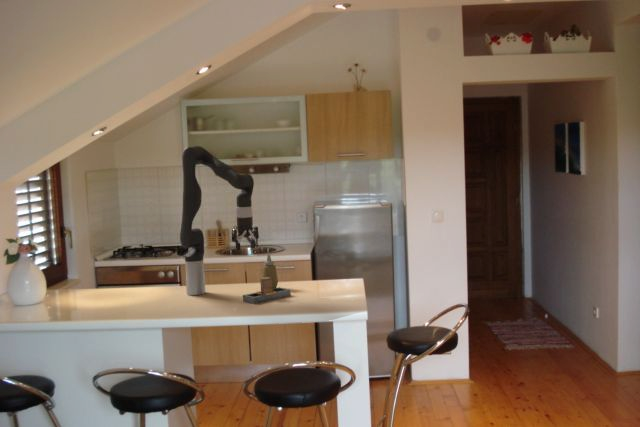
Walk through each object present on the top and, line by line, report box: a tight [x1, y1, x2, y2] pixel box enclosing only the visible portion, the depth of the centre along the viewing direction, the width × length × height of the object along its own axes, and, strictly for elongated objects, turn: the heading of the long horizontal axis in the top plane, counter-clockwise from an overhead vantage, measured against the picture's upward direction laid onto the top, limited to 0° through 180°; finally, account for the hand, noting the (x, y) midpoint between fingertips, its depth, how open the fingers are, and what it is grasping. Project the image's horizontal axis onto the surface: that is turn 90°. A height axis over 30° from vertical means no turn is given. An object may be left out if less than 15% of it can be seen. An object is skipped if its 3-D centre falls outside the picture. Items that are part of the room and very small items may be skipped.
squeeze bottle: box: [262, 253, 279, 289], centre depth 360 cm, size 8×8×18 cm
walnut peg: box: [259, 277, 273, 294], centre depth 339 cm, size 4×4×10 cm
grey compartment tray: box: [242, 287, 292, 305], centre depth 340 cm, size 9×22×3 cm, turn 131°
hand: (245, 249), depth 338 cm, fingers open, 8 cm apart
